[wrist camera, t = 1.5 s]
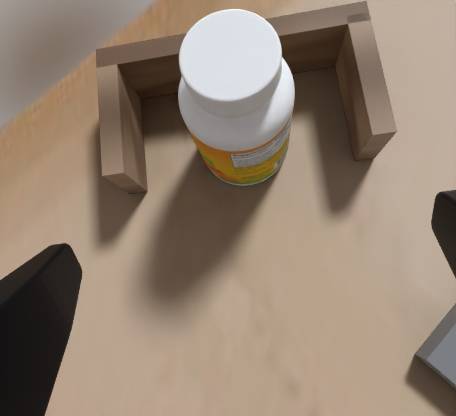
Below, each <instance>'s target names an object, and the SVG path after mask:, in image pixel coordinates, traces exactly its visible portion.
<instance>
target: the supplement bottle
mask: <svg viewBox="0 0 456 416" xmlns="http://www.w3.org/2000/svg"><path fill="white" fill-rule="evenodd" d="M179 66H180V71H181V75H182V77H181V80H180V84H179V89H178V101H179V108H180V112H181V115H182V117H183V120H184V122H185V124H186V126H187V128H188V130H189V132H190V134H191V136H192V138H193V140H194V142H195V144H196V146H197V148H198V150H199V151H200V153H201V155H202V157H203V159H204V161H205V163H206V165H207V166H208V168H209V169H210V170H211V171H212V173H213V174H214V175H216V176H217V177H218V178H220V179H221V180H223V181H225V182H227V183H230V184H233V185H240V186H246V185H253V184H257V183H260V182H262V181H264V180H266V179H268V178H269V177H271V176H272V175H273V174H274V173H275V172H276V171H277V170H278V169H279V167H280V166H281V165H282V163H283V161H284V159H285V156H286V153H287V149H288V143H289V136H290V129H291V121H292V114H293V108H294V100H295V88H294V81H293V76H292V73H291V71H290V68H289V67H288V65H287V63H286V62H285V60H284V59H283V58H282V48H281V43H280V40H279V37H278V35H277V33H276V31H275V30H274V28H273V27H272V26H271V24H270V23H268V22H267V21H266V20H265V19H264V18H262V17H261V16H259V15H257V14H255V13H252V12H249V11H246V10H240V9H228V10H222V11H218V12H215V13H212V14H210V15H208V16H206V17H204V18H202V19H201V20H200V21H198V22H197V23H196V24H195V25H194V26H193V27H192V28H191V29H190V30H189V32H188V33H187V34H186V36H185V38H184V40H183V42H182V45H181V48H180V53H179Z"/></svg>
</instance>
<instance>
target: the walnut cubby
mask: <svg viewBox="0 0 456 416" xmlns="http://www.w3.org/2000/svg"><path fill="white" fill-rule="evenodd" d="M265 20H266V21H267V22H268V23H270V24H271V26H272V27H273V28H274V30H275V31H276V33H277V35H278V37H279V40H280V43H281V48H282V58H283V59H284V60H285V62H286V63H287V65H288V67H289V68H290V71H291V73H298V72H304V71H310V70H316V69H322V68H328V67H334V66H335V68H336V73H337V78H338V83H339V88H340V92H341V97H342V102H343V107H344V112H345V117H346V122H347V127H348V132H349V136H350V141H351V146H352V151H353V156H354V161H358V160H364V159H371V158H375V157H376V156H377V155H378V153H379V152H380V151H381V150H382V149H383V147H384V146H385V145H386V144H387V143H388V141H389V140H390V139H391V138H392V137H393V136H394V134H395V133H396V132H397V129H396V125H395V121H394V116H393V112H392V108H391V104H390V99H389V95H388V91H387V87H386V82H385V78H384V74H383V70H382V65H381V61H380V57H379V53H378V48H377V44H376V40H375V36H374V31H373V27H372V23H371V18H370V14H369V10H368V6H367V1H363V2H358V3H352V4H347V5H341V6H336V7H330V8H324V9H319V10H313V11H308V12H302V13H297V14H291V15H285V16H280V17H274V18H269V19H265ZM186 34H187V33H185V34H180V35H174V36H168V37H163V38H157V39H152V40H146V41H141V42H135V43H129V44H124V45H118V46H113V47H107V48H102V49H96V62H97V83H98V103H99V124H100V145H101V165H102V176H103V177H104V178H106V179H107V180H109V181H110V182H112V183H113V184H115V185H116V186H118V187H120V188H121V189H123V190H124V191H126V192H127V193H129V194H132V193H139V192H146V191H148V190H147V177H146V163H145V150H144V137H143V124H142V110H141V99H143V98H149V97H155V96H161V95H167V94H173V93H178V89H179V84H180V80H181V77H182V75H181V71H180V66H179V53H180V48H181V45H182V42H183V40H184V38H185V36H186Z"/></svg>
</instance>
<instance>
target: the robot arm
mask: <svg viewBox="0 0 456 416" xmlns="http://www.w3.org/2000/svg"><path fill="white" fill-rule="evenodd" d="M431 225H432V230H433V232H434V234H435V236H436V238H437V240H438V243H439V245H440V247H441V249H442V251H443V253H444V255H445V257H446V259H447V261H448V263H449V266H450V268H451V270H452V272H453V274H454V276H455V278H456V190H451V191H444V192H439V193H438V194H437V195H436V198H435V203H434V209H433V214H432V220H431ZM81 279H82V269H81V266H80V264H79V262H78V260H77V258H76V256H75V254H74V252H73V250H72V248H71V246H70V245H69V244H66V243H62V244H55V245H51V246H49V247H47V248H46V249H44V250H43V251H42V252H40V253H39V254H37V255H36V256H34V257H33V258H32V259H30V260H29V261H27V262H26V263H24V264H23V265H21V266H20V267H19V268H17V269H16V270H14V271H13V272H11V273H10V274H9V275H7V276H6V277H4V278H3V279H1V280H0V416H45V413H46V409H47V406H48V403H49V400H50V397H51V394H52V390H53V387H54V384H55V381H56V378H57V374H58V371H59V368H60V365H61V362H62V358H63V355H64V352H65V349H66V346H67V343H68V339H69V336H70V332H71V329H72V324H73V320H74V315H75V310H76V305H77V300H78V294H79V289H80V284H81Z"/></svg>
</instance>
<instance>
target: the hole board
mask: <svg viewBox="0 0 456 416" xmlns="http://www.w3.org/2000/svg"><path fill="white" fill-rule="evenodd" d="M415 355H416V356H417V357H419V358H420V359H421V360H422V361H423V362H424V363H426V364H427V365H428V366H429V367H430V368H431V369H433V370H434V371H435V372H436V373H437V374H438V375H440V376H441V377H442V378H443V379H444V380H445V381H447V382H448V383H449V384H450V385H451V386H452V387H454V388H455V389H456V304H455V305H454V307H453V308H452V309H451V310H450V311H449V313H448V314H447V315H446V316H445V318H444V319H443V320H442V321H441V323H440V324H439V325H438V326H437V328H436V329H435V330H434V331H433V332H432V334H431V335H430V336H429V337H428V339H427V340H426V341H425V342H424V344H423V345H422V346H421V347H420V349H419V350H418V351H417V352H416V354H415Z"/></svg>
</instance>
